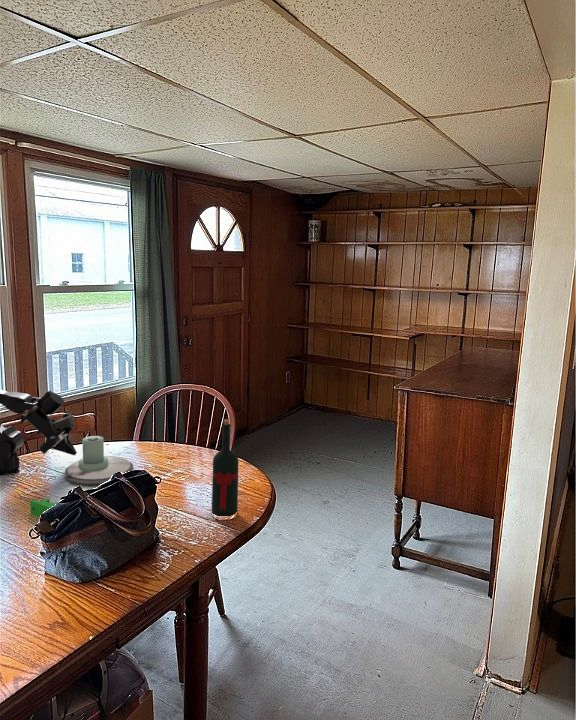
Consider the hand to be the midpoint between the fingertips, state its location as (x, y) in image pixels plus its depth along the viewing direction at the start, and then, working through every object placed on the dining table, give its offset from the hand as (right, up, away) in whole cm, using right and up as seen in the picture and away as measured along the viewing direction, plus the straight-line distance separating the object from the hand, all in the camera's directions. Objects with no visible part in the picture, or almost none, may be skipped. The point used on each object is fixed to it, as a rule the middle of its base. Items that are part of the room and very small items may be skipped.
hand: (75, 454), depth 182 cm
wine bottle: (+56, -14, -27) cm, 64 cm away
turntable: (+8, -7, +2) cm, 11 cm away
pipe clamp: (+5, -13, -31) cm, 34 cm away
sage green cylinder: (+6, -4, +1) cm, 7 cm away
